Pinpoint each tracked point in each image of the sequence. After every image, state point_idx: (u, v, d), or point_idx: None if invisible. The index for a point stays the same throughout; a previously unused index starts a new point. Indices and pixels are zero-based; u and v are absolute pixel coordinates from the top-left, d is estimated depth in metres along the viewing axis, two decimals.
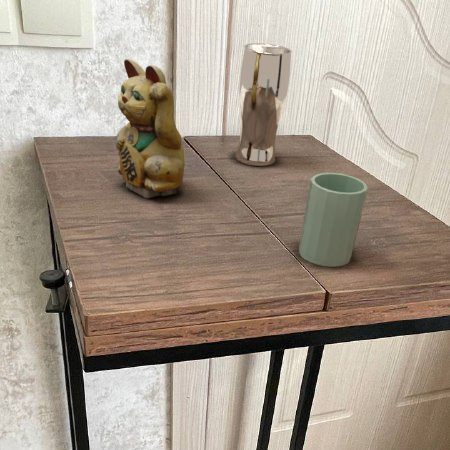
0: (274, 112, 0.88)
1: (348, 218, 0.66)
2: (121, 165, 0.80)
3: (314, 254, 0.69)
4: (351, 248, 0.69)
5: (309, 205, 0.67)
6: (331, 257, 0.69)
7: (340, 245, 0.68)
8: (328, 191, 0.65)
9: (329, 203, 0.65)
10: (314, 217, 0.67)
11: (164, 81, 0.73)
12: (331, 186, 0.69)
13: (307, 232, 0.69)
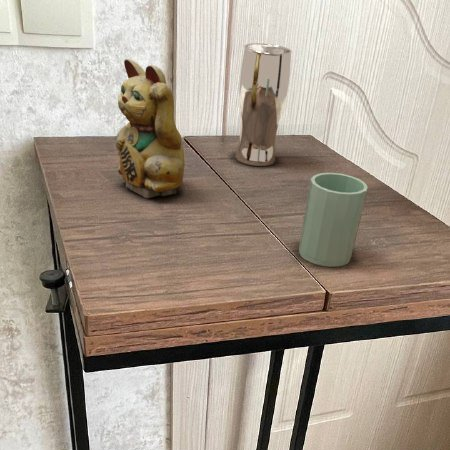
0: (274, 112, 0.88)
1: (348, 218, 0.66)
2: (121, 165, 0.80)
3: (314, 254, 0.69)
4: (351, 248, 0.69)
5: (309, 205, 0.67)
6: (331, 257, 0.69)
7: (340, 245, 0.68)
8: (328, 191, 0.65)
9: (329, 203, 0.65)
10: (314, 217, 0.67)
11: (164, 81, 0.73)
12: (331, 186, 0.69)
13: (307, 232, 0.69)
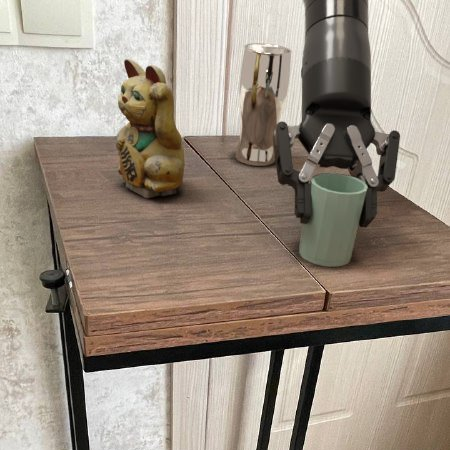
0: (274, 112, 0.88)
1: (348, 218, 0.66)
2: (121, 165, 0.80)
3: (314, 254, 0.69)
4: (351, 248, 0.69)
5: None
6: (331, 257, 0.69)
7: (341, 245, 0.68)
8: (328, 191, 0.65)
9: (329, 203, 0.65)
10: (314, 217, 0.67)
11: (164, 81, 0.73)
12: (331, 186, 0.69)
13: (307, 232, 0.69)
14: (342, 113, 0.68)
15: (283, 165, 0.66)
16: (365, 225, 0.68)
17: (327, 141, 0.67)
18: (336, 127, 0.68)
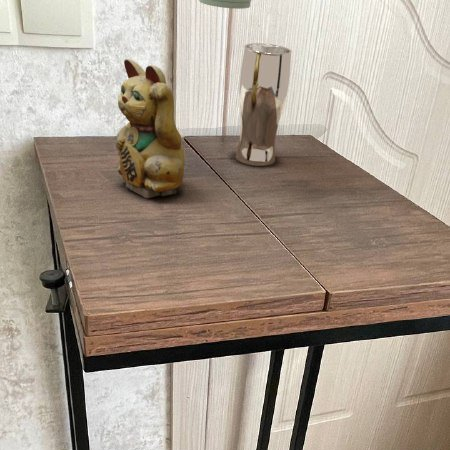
0: (274, 112, 0.88)
1: None
2: (121, 165, 0.80)
3: None
4: None
5: None
6: None
7: None
8: None
9: None
10: None
11: (164, 81, 0.73)
12: None
13: None
14: None
15: None
16: None
17: None
18: None
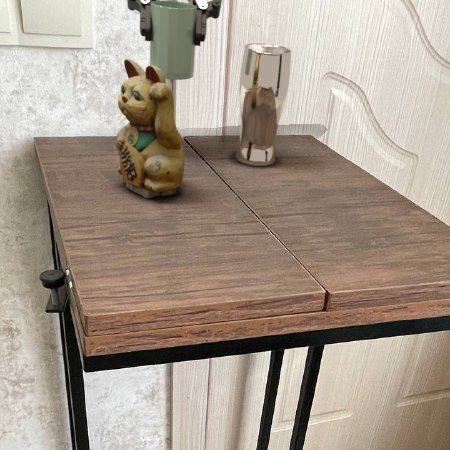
0: (274, 112, 0.88)
1: (180, 32, 0.81)
2: (121, 165, 0.80)
3: None
4: (189, 64, 0.85)
5: None
6: (171, 70, 0.84)
7: (178, 58, 0.83)
8: (160, 6, 0.80)
9: (163, 18, 0.80)
10: (154, 33, 0.82)
11: (164, 81, 0.73)
12: None
13: (151, 49, 0.84)
14: None
15: None
16: (198, 42, 0.83)
17: None
18: None
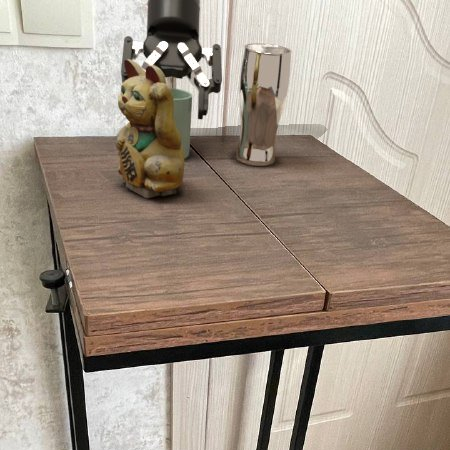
0: (274, 112, 0.88)
1: (177, 119, 0.88)
2: (121, 165, 0.80)
3: None
4: (185, 146, 0.92)
5: None
6: None
7: None
8: None
9: None
10: None
11: (164, 81, 0.73)
12: None
13: None
14: (175, 34, 0.89)
15: (122, 68, 0.88)
16: (200, 117, 0.90)
17: (162, 55, 0.88)
18: (170, 45, 0.89)
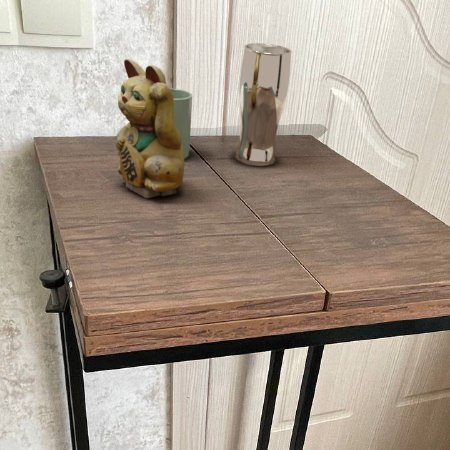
0: (274, 112, 0.88)
1: (177, 119, 0.88)
2: (121, 165, 0.80)
3: None
4: (185, 146, 0.92)
5: None
6: None
7: None
8: None
9: None
10: None
11: (164, 81, 0.73)
12: None
13: None
14: None
15: None
16: None
17: None
18: None
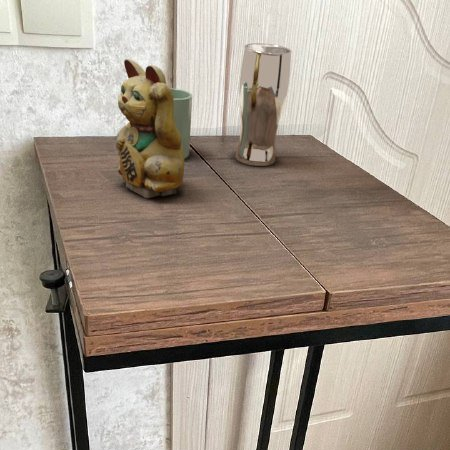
0: (274, 112, 0.88)
1: (177, 119, 0.88)
2: (121, 165, 0.80)
3: None
4: (185, 146, 0.92)
5: None
6: None
7: None
8: None
9: None
10: None
11: (164, 81, 0.73)
12: None
13: None
14: None
15: None
16: None
17: None
18: None
